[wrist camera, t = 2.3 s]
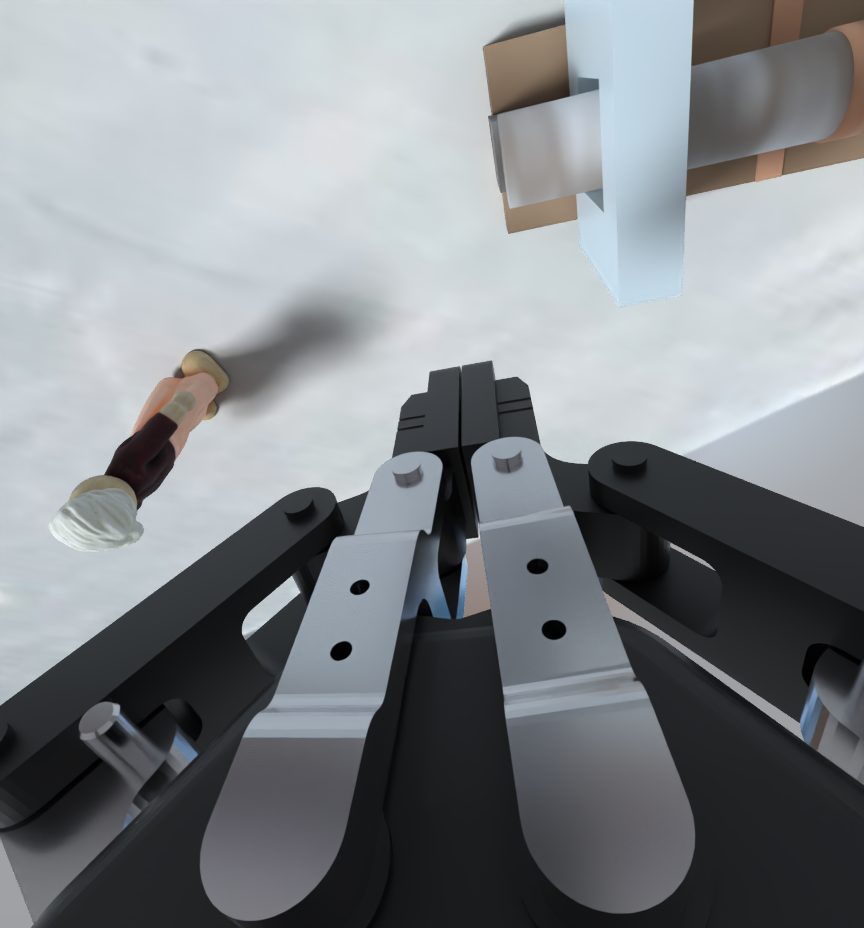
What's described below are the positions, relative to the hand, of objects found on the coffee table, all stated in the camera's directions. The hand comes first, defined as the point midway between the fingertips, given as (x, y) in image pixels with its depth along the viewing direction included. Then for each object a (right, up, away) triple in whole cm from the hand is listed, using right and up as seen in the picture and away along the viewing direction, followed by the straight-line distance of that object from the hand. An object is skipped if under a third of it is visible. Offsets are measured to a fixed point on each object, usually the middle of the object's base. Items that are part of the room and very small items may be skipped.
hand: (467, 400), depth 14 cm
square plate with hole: (+6, +12, +9) cm, 16 cm away
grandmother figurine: (-15, +3, +19) cm, 24 cm away
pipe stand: (+10, +14, +10) cm, 20 cm away
